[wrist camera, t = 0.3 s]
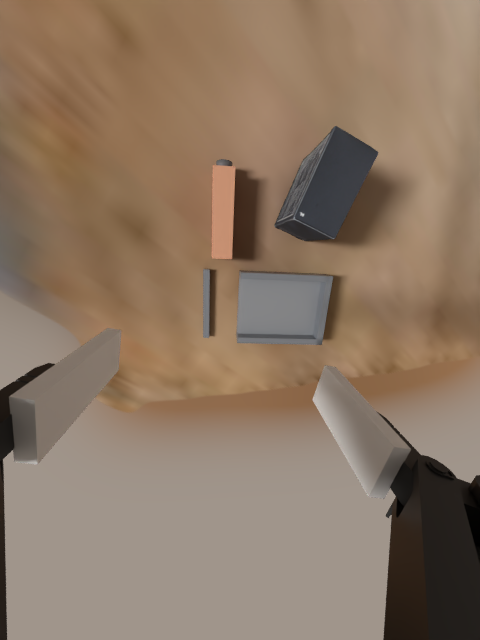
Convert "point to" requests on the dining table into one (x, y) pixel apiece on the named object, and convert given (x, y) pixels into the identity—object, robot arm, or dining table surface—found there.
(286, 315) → the tray
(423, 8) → the dining table surface
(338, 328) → the dining table surface
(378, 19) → the dining table surface
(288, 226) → the small box
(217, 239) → the bar
